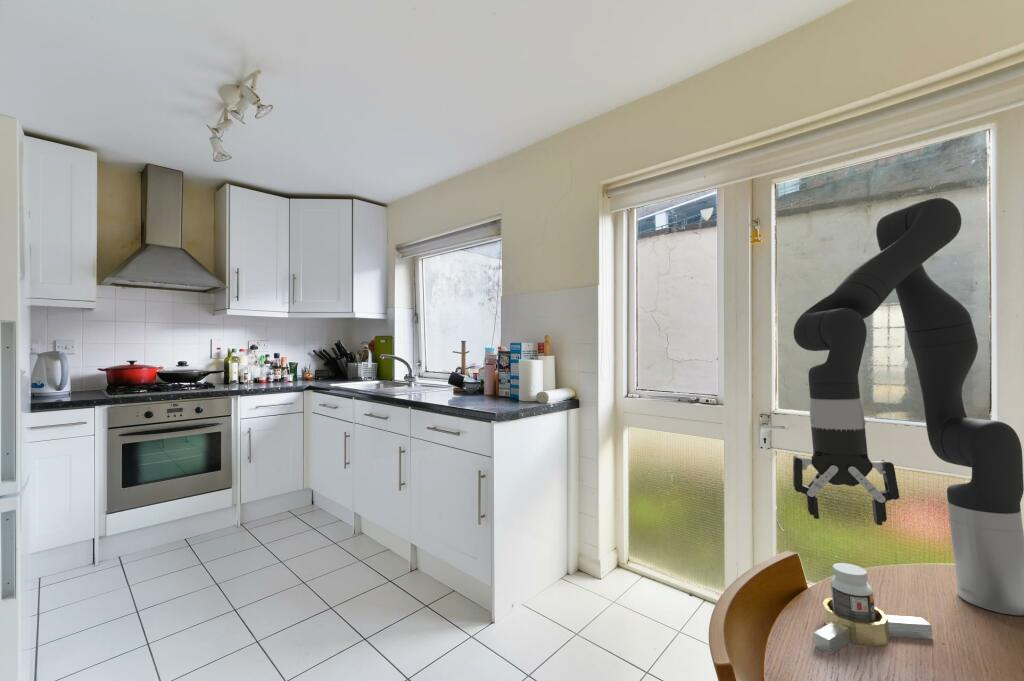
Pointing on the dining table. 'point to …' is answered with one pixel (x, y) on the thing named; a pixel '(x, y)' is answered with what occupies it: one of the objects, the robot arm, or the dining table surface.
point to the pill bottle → (852, 593)
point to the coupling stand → (866, 629)
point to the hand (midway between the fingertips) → (846, 520)
